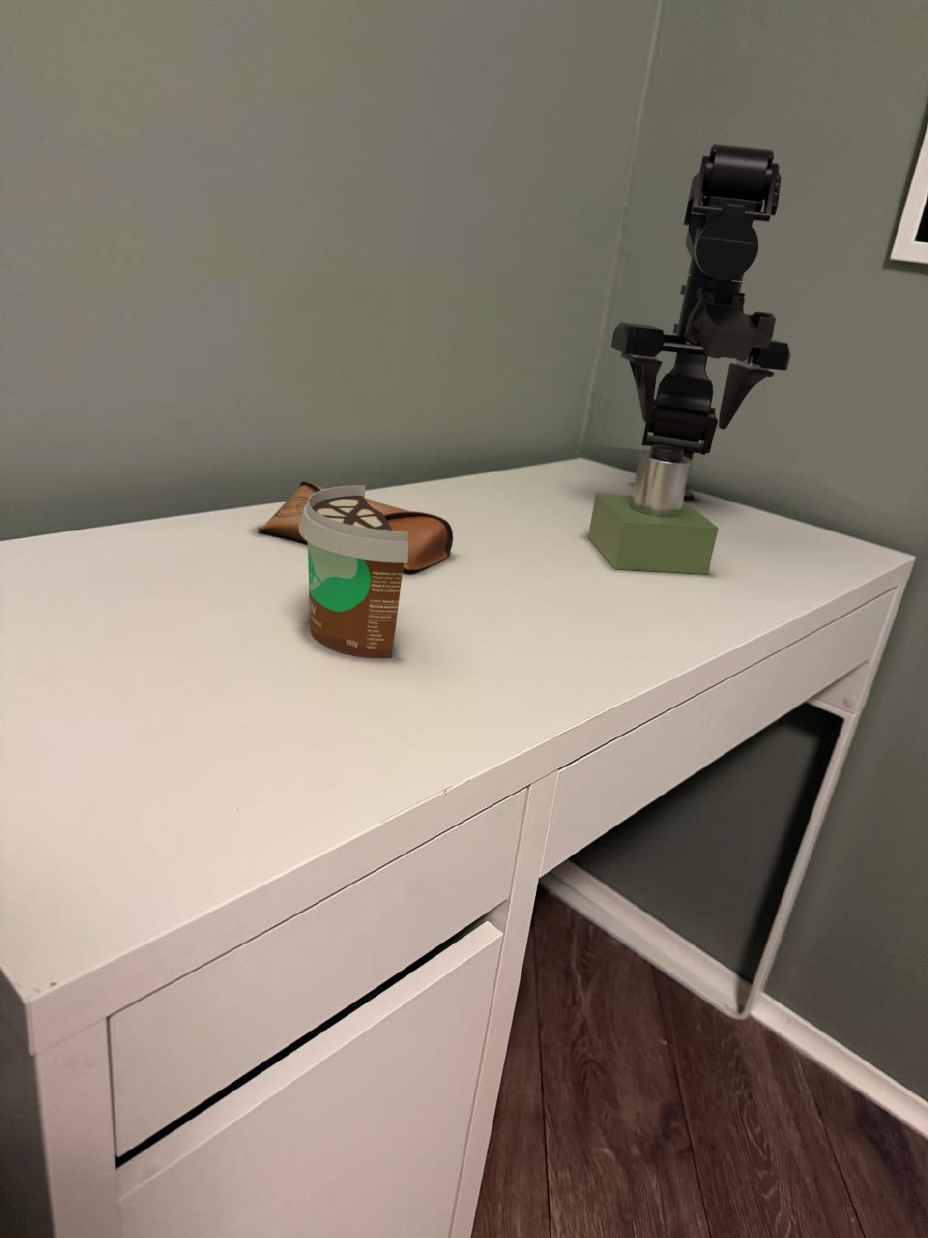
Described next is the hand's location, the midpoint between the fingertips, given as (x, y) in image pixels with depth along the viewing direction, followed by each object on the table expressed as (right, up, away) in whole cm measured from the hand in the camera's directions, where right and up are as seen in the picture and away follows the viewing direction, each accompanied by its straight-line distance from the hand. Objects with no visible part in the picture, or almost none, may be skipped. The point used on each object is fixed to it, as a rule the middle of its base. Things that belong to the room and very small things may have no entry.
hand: (684, 425), depth 101 cm
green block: (-6, -15, -6) cm, 17 cm away
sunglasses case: (-36, -15, -13) cm, 41 cm away
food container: (-35, -23, -33) cm, 53 cm away
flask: (-5, -11, -8) cm, 14 cm away
